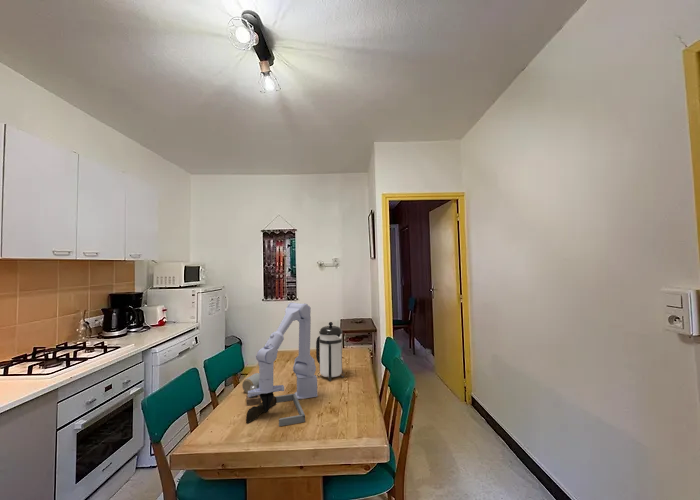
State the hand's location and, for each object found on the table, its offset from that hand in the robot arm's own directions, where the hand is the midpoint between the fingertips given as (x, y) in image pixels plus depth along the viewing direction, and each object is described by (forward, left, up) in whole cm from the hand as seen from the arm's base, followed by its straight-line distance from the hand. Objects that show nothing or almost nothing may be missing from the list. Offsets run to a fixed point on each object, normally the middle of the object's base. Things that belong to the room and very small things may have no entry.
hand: (266, 411), depth 131 cm
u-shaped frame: (-9, 0, -1) cm, 9 cm away
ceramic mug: (+3, -28, -2) cm, 28 cm away
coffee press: (-37, -35, -2) cm, 51 cm away
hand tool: (+1, -3, -2) cm, 3 cm away
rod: (+4, -15, -1) cm, 16 cm away
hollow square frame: (+4, -15, -1) cm, 16 cm away
